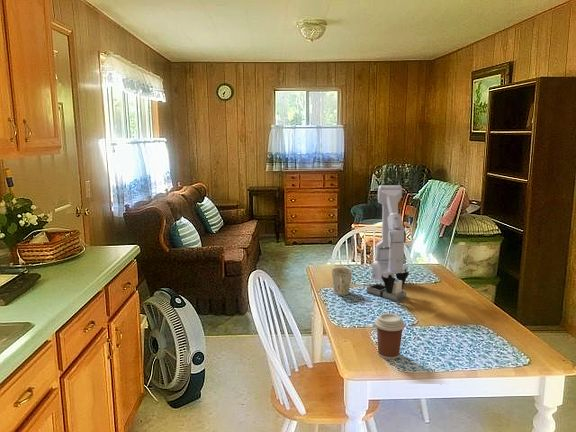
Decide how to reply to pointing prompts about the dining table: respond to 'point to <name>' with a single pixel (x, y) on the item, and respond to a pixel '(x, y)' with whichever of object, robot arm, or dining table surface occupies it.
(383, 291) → the panel
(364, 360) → the dining table surface
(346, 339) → the dining table surface
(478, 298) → the dining table surface
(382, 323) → the coffee cup
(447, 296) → the dining table surface
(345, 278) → the mug
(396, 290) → the plug
